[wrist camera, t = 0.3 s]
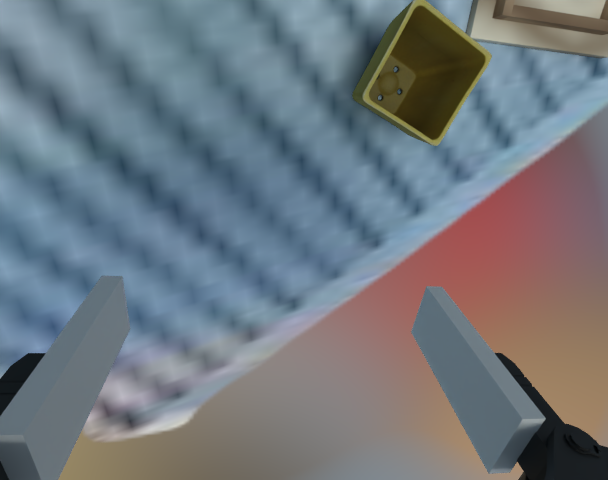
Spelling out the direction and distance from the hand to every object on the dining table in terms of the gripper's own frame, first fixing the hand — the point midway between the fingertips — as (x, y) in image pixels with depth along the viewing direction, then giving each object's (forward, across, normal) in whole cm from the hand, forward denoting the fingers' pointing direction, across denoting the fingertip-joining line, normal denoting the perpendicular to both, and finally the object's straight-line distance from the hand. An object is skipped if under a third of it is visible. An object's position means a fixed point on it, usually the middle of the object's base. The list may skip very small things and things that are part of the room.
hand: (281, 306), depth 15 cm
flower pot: (+28, +12, +9) cm, 32 cm away
